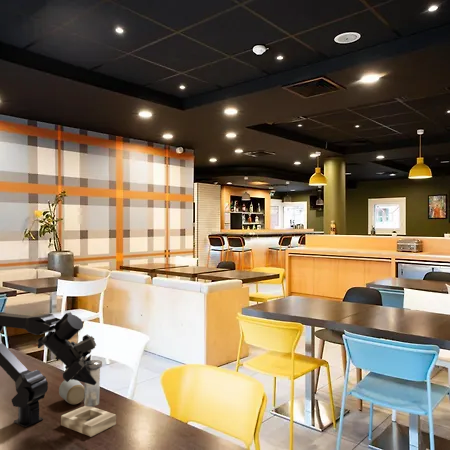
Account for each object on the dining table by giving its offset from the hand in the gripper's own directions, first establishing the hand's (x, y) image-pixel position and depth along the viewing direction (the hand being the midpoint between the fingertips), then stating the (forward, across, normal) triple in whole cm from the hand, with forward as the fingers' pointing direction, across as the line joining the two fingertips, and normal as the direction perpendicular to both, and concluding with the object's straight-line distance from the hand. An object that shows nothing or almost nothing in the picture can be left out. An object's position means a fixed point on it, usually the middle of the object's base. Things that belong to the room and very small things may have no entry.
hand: (96, 381), depth 135 cm
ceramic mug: (+3, +20, +16) cm, 26 cm away
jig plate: (+8, -1, +11) cm, 14 cm away
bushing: (+4, 0, +6) cm, 7 cm away
